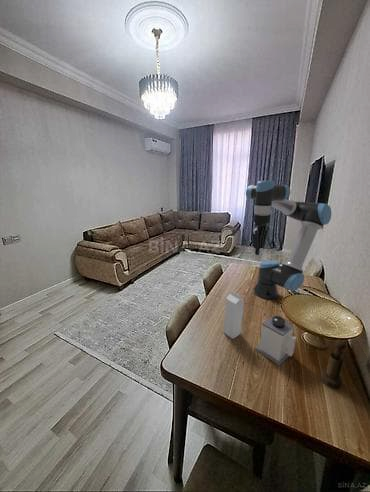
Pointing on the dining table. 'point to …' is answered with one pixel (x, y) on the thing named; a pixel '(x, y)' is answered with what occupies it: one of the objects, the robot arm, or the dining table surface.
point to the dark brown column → (334, 367)
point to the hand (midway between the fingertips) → (257, 260)
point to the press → (276, 342)
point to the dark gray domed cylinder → (278, 322)
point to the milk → (233, 315)
